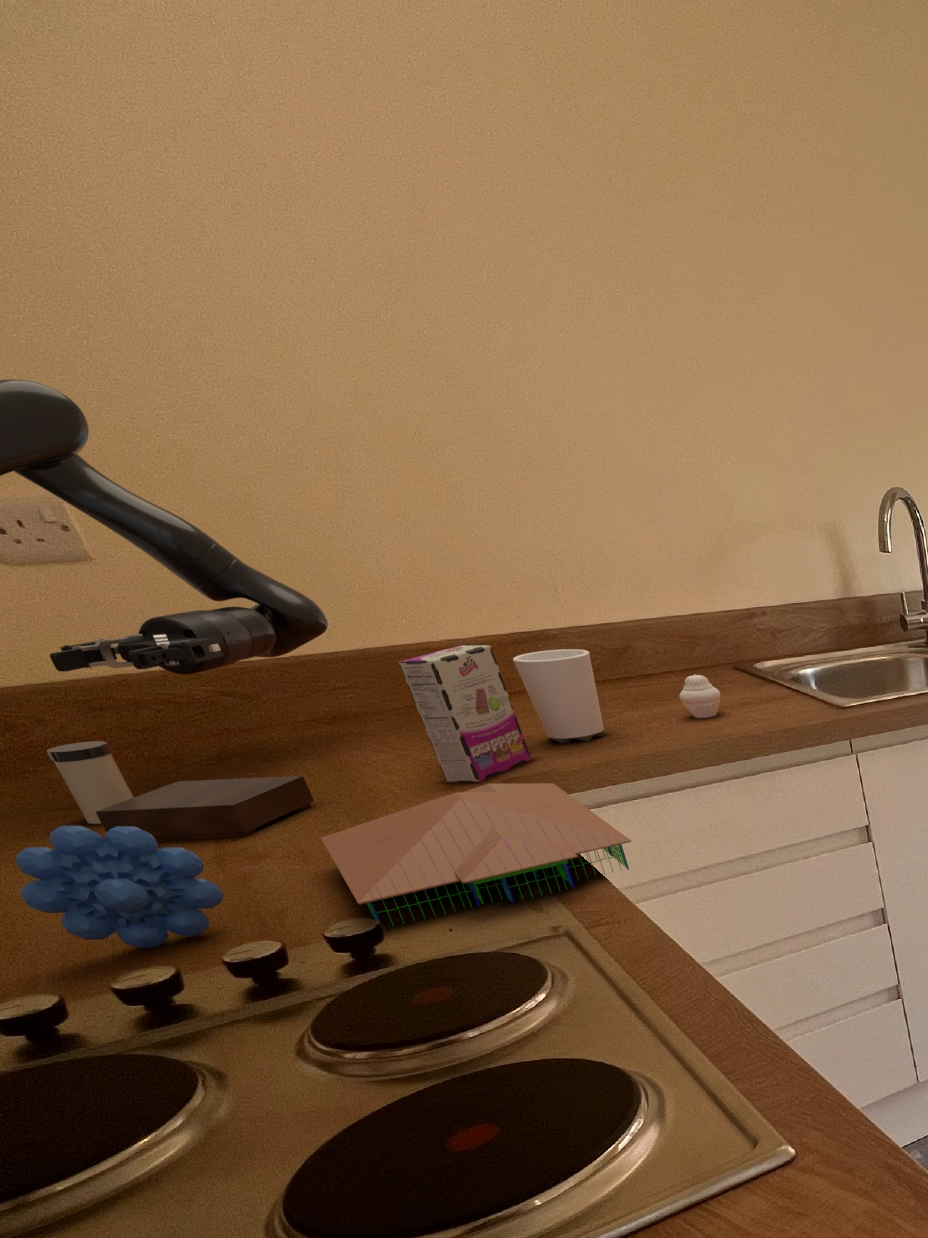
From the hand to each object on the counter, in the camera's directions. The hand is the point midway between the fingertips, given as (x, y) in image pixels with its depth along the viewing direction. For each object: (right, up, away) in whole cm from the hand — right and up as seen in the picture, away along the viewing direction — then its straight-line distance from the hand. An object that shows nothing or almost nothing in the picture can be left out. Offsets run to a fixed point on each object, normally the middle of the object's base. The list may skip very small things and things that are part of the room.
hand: (95, 661), depth 128 cm
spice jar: (+1, -19, +1) cm, 19 cm away
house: (+59, -27, -15) cm, 67 cm away
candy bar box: (+35, -10, +18) cm, 41 cm away
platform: (+17, -20, -2) cm, 26 cm away
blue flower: (+44, -36, -33) cm, 66 cm away
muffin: (+49, +4, +47) cm, 68 cm away
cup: (+36, -2, +34) cm, 50 cm away
